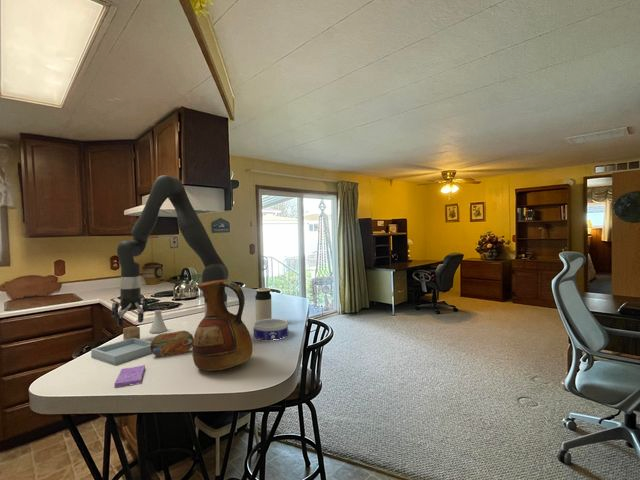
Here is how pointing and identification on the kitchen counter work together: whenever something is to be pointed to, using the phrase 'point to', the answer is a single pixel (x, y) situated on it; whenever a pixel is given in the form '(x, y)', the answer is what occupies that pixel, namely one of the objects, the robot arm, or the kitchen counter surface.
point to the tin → (171, 343)
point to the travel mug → (263, 304)
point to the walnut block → (131, 332)
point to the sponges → (129, 376)
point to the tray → (122, 351)
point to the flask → (158, 323)
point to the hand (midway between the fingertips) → (130, 324)
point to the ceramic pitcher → (221, 330)
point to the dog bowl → (270, 329)
